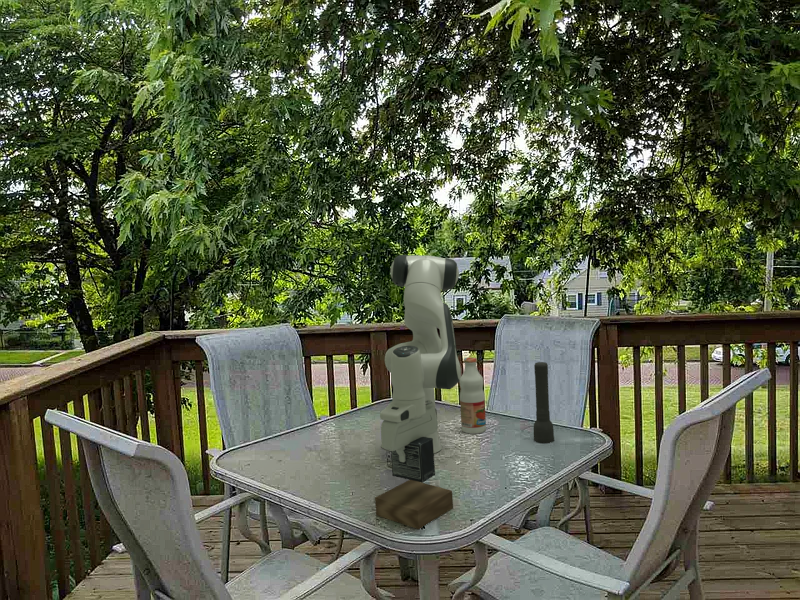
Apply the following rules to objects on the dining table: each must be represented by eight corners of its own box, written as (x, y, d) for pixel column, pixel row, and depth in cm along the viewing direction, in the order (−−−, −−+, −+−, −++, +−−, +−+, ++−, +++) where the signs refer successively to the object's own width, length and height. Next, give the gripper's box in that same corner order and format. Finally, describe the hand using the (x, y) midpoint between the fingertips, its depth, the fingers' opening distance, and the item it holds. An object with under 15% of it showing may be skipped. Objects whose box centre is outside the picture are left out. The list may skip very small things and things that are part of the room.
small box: (436, 474, 168) (434, 437, 167) (423, 483, 163) (420, 445, 161) (405, 467, 174) (402, 431, 173) (391, 476, 169) (388, 439, 168)
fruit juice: (463, 426, 243) (460, 356, 241) (487, 426, 241) (484, 356, 238) (459, 433, 234) (455, 361, 232) (484, 434, 232) (480, 361, 229)
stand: (376, 515, 168) (374, 497, 168) (411, 496, 180) (410, 479, 179) (418, 529, 159) (417, 510, 158) (453, 508, 170) (452, 490, 170)
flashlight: (556, 442, 218) (551, 436, 225) (553, 364, 215) (548, 360, 222) (536, 443, 218) (531, 437, 225) (533, 365, 215) (528, 361, 222)
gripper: (423, 396, 176) (426, 444, 178) (375, 415, 161) (379, 466, 162) (441, 399, 172) (444, 447, 174) (393, 418, 157) (397, 471, 158)
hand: (412, 456), depth 168 cm, fingers closed on small box, 6 cm apart
